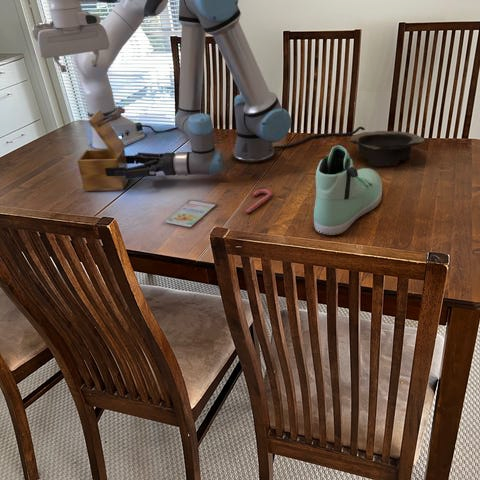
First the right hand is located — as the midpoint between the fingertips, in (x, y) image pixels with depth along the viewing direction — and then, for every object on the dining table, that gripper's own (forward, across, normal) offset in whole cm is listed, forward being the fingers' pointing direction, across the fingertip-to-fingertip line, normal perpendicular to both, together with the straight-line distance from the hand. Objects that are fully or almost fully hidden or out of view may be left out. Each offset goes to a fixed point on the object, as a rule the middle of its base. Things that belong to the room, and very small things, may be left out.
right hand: (111, 165), depth 161 cm
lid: (-1, 0, +11) cm, 11 cm away
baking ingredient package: (-31, -22, -7) cm, 38 cm away
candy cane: (-50, -16, -7) cm, 53 cm away
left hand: (+3, 0, +32) cm, 32 cm away
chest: (+3, 0, -7) cm, 7 cm away
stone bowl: (-93, +17, -7) cm, 95 cm away
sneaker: (-77, -21, -7) cm, 80 cm away
